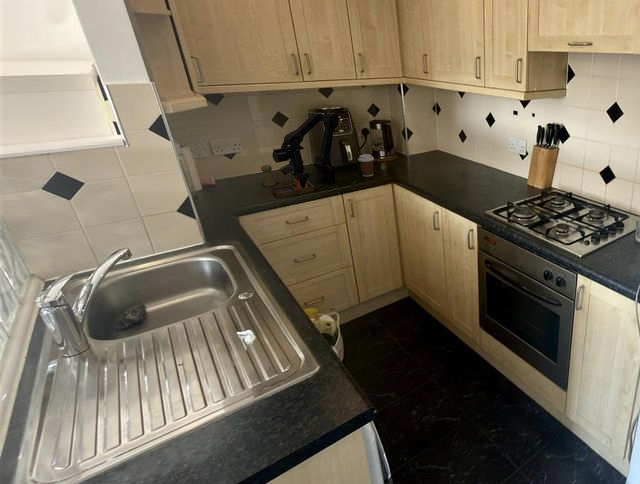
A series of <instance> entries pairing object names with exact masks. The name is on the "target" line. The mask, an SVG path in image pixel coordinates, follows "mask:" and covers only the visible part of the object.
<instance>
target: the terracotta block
mask: <svg viewBox="0 0 640 484" xmlns="http://www.w3.org/2000/svg"><path fill="white" fill-rule="evenodd" d="M293 181H294V182H293V183H294V184H295V187H296V189H297V190H298V189H303V188H302V187H301V184H300V182H299V180H298V179H296V178H294V179H293ZM307 181H308V180H307ZM307 181H306V184H305V188H308V185H307Z"/></svg>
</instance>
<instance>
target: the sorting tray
mask: <svg viewBox="0 0 640 484" xmlns="http://www.w3.org/2000/svg"><path fill="white" fill-rule="evenodd" d="M307 185H308V188H303V189H298V190H297V189H296V187H295V183H290V184H285V185H278V186H272V187H271V191H272V193H273V194H274V195H275V196H276V198H277V199H281V198H286V197H291V196H295V195H301V194H306V193H311V192H314V191H316V189H315V186H314V185H312V184H311V183H310V182H309V181H308V180H307Z"/></svg>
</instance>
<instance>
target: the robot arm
mask: <svg viewBox="0 0 640 484" xmlns="http://www.w3.org/2000/svg"><path fill="white" fill-rule="evenodd" d="M340 120H341V119H340V116H339V115H338V114H337V113H333V112H325V113H318V112H313V113H311V114H310V116H309V117H308V118H307V119H306V120H305V121H304V122H303V123H301V125H299V127H297V128H296V129H294V130H292V131H290V132H288V133H287V134H285V136H283V142H282V143H281V145H280V148H273V149H272V151H273V152H272V155H271V157H272V159H273V162H275V163H276V164H277V163H284V162H288V164H285V165H283V166H280V168H279V171H280V173H282V175H283V176H287V175H289V174H290V175H292V176H293V177H294V179H298V180H299V182H300V184H301V187H302V188H305V184H306V181H308V178H310V177H311V173H310V172H309V171H307V170H306V168H305V166H304V163H305V160H303V156H302V152H301V151H302V150H304V149H305V147H303V146H302V145H301V143H302V142H303V141H304V138H305V136H306V135H307V134H308V133H309V132H310V131H311V130H312V129H313V128H314V127H315V126H317V124H318V123H320V122H322V125H323V127H324V130H323V137H322V142H321V148H320V152H319V155H315V156H314V161H313V164H314V166H315V168H316V169H318V171H319V172H320V173H321V174H320V179H321V183H323V184H324V185H330V184H336V183H337V182H338V180H336V174H335V173H336V172H337V169H336V168H335V167H334V166H333V165H332V159H331V151H332V145H333V139H334V134H335V130H337V128H338V126H339V123H340Z"/></svg>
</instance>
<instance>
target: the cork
mask: <svg viewBox="0 0 640 484" xmlns="http://www.w3.org/2000/svg"><path fill="white" fill-rule="evenodd" d="M260 171H261V172H262V175H263V176H262V177H263V186H264V187H274V186H276V185H277V182H276V179H275V177H274V174H273V172H272V171H273V167H272V166H271V165H270V164H264V165H261V167H260Z"/></svg>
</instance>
